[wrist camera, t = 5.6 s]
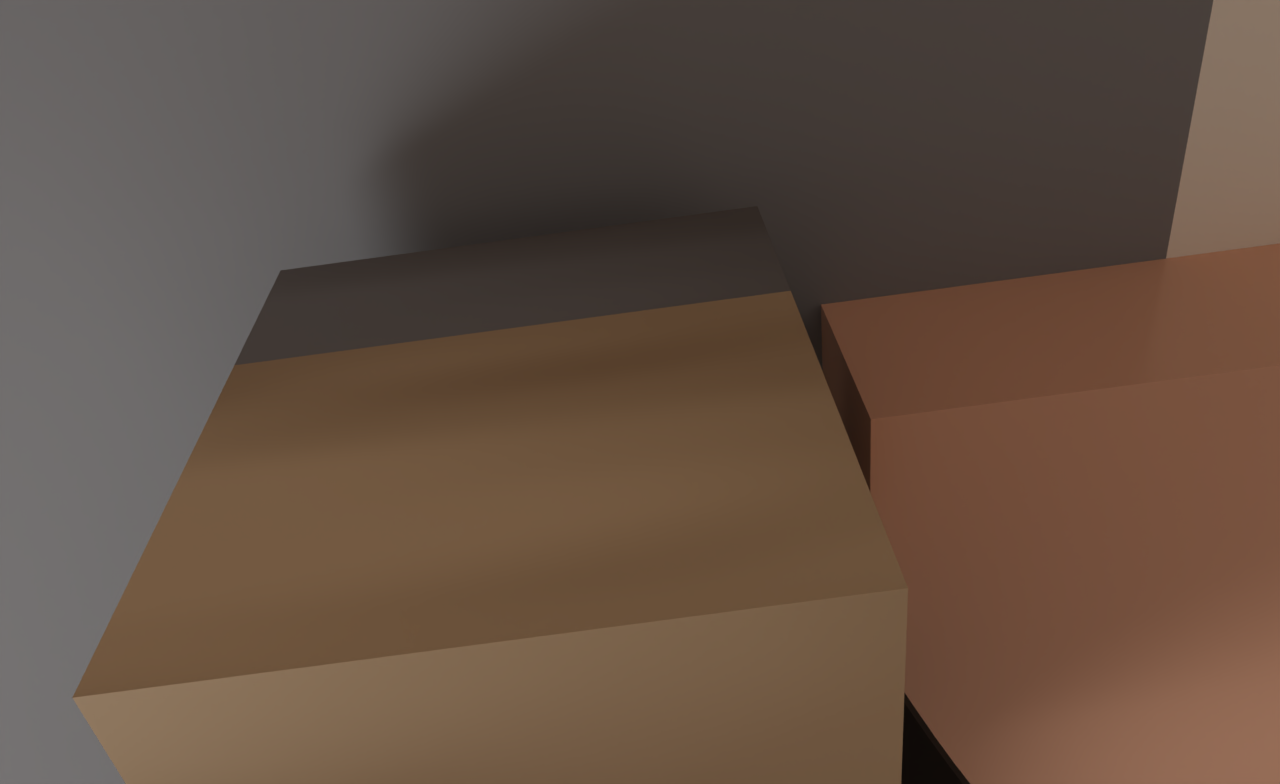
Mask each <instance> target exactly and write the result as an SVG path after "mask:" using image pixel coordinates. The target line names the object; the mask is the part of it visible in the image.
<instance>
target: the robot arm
mask: <svg viewBox="0 0 1280 784" xmlns="http://www.w3.org/2000/svg"><path fill="white" fill-rule="evenodd" d="M901 784H970V783H969V782H968V780H967V779H966V778H965V776H964V775H963V774H962V772H961V771H960V770H959V769H958V767H957V766H956V765H955V763H954V762H953V761H952V759H951V758H950V757H949V755H948V754H947V752H946V751H945V750H944V748H943V747H942V746H941V744H940V743H939V742H938V740H937V739H936V737H935V736H934V735H933V733H932V732H931V730H930V729H929V727H928V726H927V724H926V723H925V722H924V720H923V719H922V717H921V716H920V714H919V713H918V711H917V710H916V709H915V707H914V706H913V704H912V703H911V701H910V700H909V698H908V697H907V695H906V694H905V692H904V718H903V747H902V776H901Z"/></svg>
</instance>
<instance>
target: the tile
mask: <svg viewBox="0 0 1280 784" xmlns="http://www.w3.org/2000/svg"><path fill="white" fill-rule="evenodd" d="M821 327H822V369H823V374H824V376H825V379H826V381H827V384H828V386H829V389H830V392H831V394H832V397H833V399H834V402H835V404H836V407H837V409H838V412H839V414H840V417H841V419H842V422H843V425H844V427H845V430H846V432H847V435H848V437H849V440H850V442H851V445H852V447H853V450H854V452H855V455H856V457H857V460H858V463H859V465H860V468H861V470H862V473H863V475H864V478H865V480H866V483H867V485H868V488H869V490H870V493H871V495H872V498H873V501H874V503H875V506H876V508H877V511H878V513H879V516H880V518H881V521H882V523H883V526H884V528H885V531H886V534H887V536H888V539H889V541H890V544H891V546H892V549H893V551H894V554H895V556H896V559H897V561H898V564H899V566H900V569H901V572H902V574H903V577H904V579H905V582H906V584H907V587H908V604H907V632H906V661H905V690H904V692H905V694H906V695H907V697H908V698H909V700H910V701H911V703H912V704H913V706H914V707H915V709H916V710H917V711H918V713H919V714H920V716H921V717H922V719H923V720H924V722H925V723H926V724H927V726H928V727H929V729H930V730H931V732H932V733H933V735H934V736H935V737H936V739H937V740H938V742H939V743H940V744H941V746H942V747H943V748H944V750H945V751H946V752H947V754H948V755H949V757H950V758H951V759H952V761H953V762H954V763H955V765H956V766H957V767H958V769H959V770H960V771H961V772H962V774H963V775H964V776H965V778H966V779H967V780H968V782H969V783H970V784H1280V243H1279V244H1271V245H1264V246H1256V247H1249V248H1241V249H1234V250H1226V251H1219V252H1211V253H1204V254H1196V255H1189V256H1181V257H1174V258H1166V259H1159V260H1151V261H1144V262H1136V263H1129V264H1121V265H1114V266H1106V267H1099V268H1091V269H1084V270H1076V271H1069V272H1061V273H1054V274H1046V275H1039V276H1031V277H1024V278H1016V279H1009V280H1001V281H994V282H986V283H979V284H971V285H964V286H956V287H949V288H941V289H934V290H926V291H919V292H911V293H904V294H896V295H889V296H881V297H874V298H866V299H859V300H851V301H844V302H836V303H829V304H821Z"/></svg>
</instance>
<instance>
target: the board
mask: <svg viewBox="0 0 1280 784" xmlns="http://www.w3.org/2000/svg"><path fill="white" fill-rule="evenodd" d="M754 206H757V207H758V209H759V212H760V214H761V217H762V219H763V222H764V224H765V227H766V229H767V232H768V234H769V237H770V239H771V242H772V245H773V247H774V250H775V252H776V255H777V257H778V260H779V262H780V265H781V267H782V270H783V272H784V275H785V278H786V280H787V283H788V285H789V288H790V290H791V293H792V295H793V298H794V300H795V303H796V305H797V308H798V310H799V313H800V316H801V318H802V321H803V323H804V326H805V328H806V331H807V333H808V336H809V338H810V341H811V343H812V346H813V348H814V351H815V354H816V356H817V359H818V361H819V364H820V366H821V369H822V327H821V304H829V303H836V302H844V301H851V300H859V299H866V298H874V297H881V296H889V295H896V294H904V293H911V292H919V291H926V290H934V289H941V288H949V287H956V286H964V285H971V284H979V283H986V282H994V281H1001V280H1009V279H1016V278H1024V277H1031V276H1039V275H1046V274H1054V273H1061V272H1069V271H1076V270H1084V269H1091V268H1099V267H1106V266H1114V265H1121V264H1129V263H1136V262H1144V261H1151V260H1159V259H1166V258H1174V257H1181V256H1189V255H1196V254H1204V253H1211V252H1219V251H1226V250H1234V249H1241V248H1249V247H1256V246H1264V245H1271V244H1279V243H1280V0H0V784H126V783H125V782H124V780H123V779H122V777H121V775H120V774H119V772H118V771H117V769H116V767H115V766H114V764H113V762H112V761H111V759H110V758H109V756H108V754H107V753H106V751H105V750H104V748H103V746H102V745H101V743H100V742H99V740H98V738H97V737H96V735H95V733H94V732H93V730H92V729H91V727H90V725H89V724H88V722H87V721H86V719H85V717H84V716H83V714H82V713H81V711H80V709H79V708H78V706H77V705H76V703H75V701H74V700H73V698H72V697H73V695H74V693H75V691H76V689H77V687H78V685H79V683H80V681H81V679H82V677H83V675H84V673H85V671H86V669H87V667H88V665H89V663H90V660H91V658H92V656H93V654H94V652H95V650H96V648H97V646H98V644H99V642H100V640H101V638H102V636H103V634H104V632H105V630H106V628H107V626H108V624H109V621H110V619H111V617H112V615H113V613H114V611H115V609H116V607H117V605H118V603H119V601H120V599H121V597H122V595H123V593H124V591H125V589H126V587H127V585H128V582H129V580H130V578H131V576H132V574H133V572H134V570H135V568H136V566H137V564H138V562H139V560H140V558H141V556H142V554H143V552H144V550H145V548H146V546H147V543H148V541H149V539H150V537H151V535H152V533H153V531H154V529H155V527H156V525H157V523H158V521H159V519H160V517H161V515H162V513H163V511H164V509H165V507H166V504H167V502H168V500H169V498H170V496H171V494H172V492H173V490H174V488H175V486H176V484H177V482H178V480H179V478H180V476H181V474H182V472H183V470H184V468H185V465H186V463H187V461H188V459H189V457H190V455H191V453H192V451H193V449H194V447H195V445H196V443H197V441H198V439H199V437H200V435H201V433H202V431H203V428H204V426H205V424H206V422H207V420H208V418H209V416H210V414H211V412H212V410H213V408H214V406H215V404H216V402H217V400H218V398H219V396H220V394H221V392H222V389H223V387H224V385H225V383H226V381H227V379H228V377H229V375H230V373H231V371H232V369H233V367H234V365H235V363H236V361H237V359H238V357H239V355H240V353H241V350H242V348H243V346H244V344H245V342H246V340H247V338H248V336H249V334H250V332H251V330H252V328H253V326H254V324H255V322H256V320H257V318H258V316H259V314H260V311H261V309H262V307H263V305H264V303H265V301H266V299H267V297H268V295H269V293H270V291H271V289H272V287H273V285H274V283H275V281H276V279H277V277H278V275H279V272H280V270H287V269H295V268H302V267H309V266H317V265H324V264H332V263H339V262H346V261H354V260H361V259H369V258H376V257H384V256H391V255H398V254H406V253H413V252H421V251H428V250H435V249H443V248H450V247H458V246H465V245H472V244H480V243H487V242H495V241H502V240H509V239H517V238H524V237H532V236H539V235H547V234H554V233H561V232H569V231H576V230H584V229H591V228H598V227H606V226H613V225H621V224H628V223H635V222H643V221H650V220H658V219H665V218H673V217H680V216H687V215H695V214H702V213H710V212H717V211H724V210H732V209H739V208H747V207H754ZM822 371H823V369H822Z"/></svg>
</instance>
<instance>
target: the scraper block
mask: <svg viewBox="0 0 1280 784" xmlns="http://www.w3.org/2000/svg"><path fill="white" fill-rule="evenodd" d="M907 604H908V587H907V584H906V582H905V579H904V577H903V574H902V572H901V569H900V566H899V564H898V561H897V559H896V556H895V554H894V551H893V549H892V546H891V544H890V541H889V539H888V536H887V534H886V531H885V528H884V526H883V523H882V521H881V518H880V516H879V513H878V511H877V508H876V506H875V503H874V501H873V498H872V495H871V493H870V490H869V488H868V485H867V483H866V480H865V478H864V475H863V473H862V470H861V468H860V465H859V463H858V460H857V457H856V455H855V452H854V450H853V447H852V445H851V442H850V440H849V437H848V435H847V432H846V430H845V427H844V425H843V422H842V419H841V417H840V414H839V412H838V409H837V407H836V404H835V402H834V399H833V397H832V394H831V392H830V389H829V386H828V384H827V381H826V379H825V376H824V374H823V371H822V369H821V366H820V364H819V361H818V359H817V356H816V354H815V351H814V348H813V346H812V343H811V341H810V338H809V336H808V333H807V331H806V328H805V326H804V323H803V321H802V318H801V316H800V313H799V310H798V308H797V305H796V303H795V300H794V298H793V295H792V293H791V290H790V288H789V285H788V283H787V280H786V278H785V275H784V272H783V270H782V267H781V265H780V262H779V260H778V257H777V255H776V252H775V250H774V247H773V245H772V242H771V239H770V237H769V234H768V232H767V229H766V227H765V224H764V222H763V219H762V217H761V214H760V212H759V209H758V207H757V206H754V207H747V208H739V209H732V210H724V211H717V212H710V213H702V214H695V215H687V216H680V217H673V218H665V219H658V220H650V221H643V222H635V223H628V224H621V225H613V226H606V227H598V228H591V229H584V230H576V231H569V232H561V233H554V234H547V235H539V236H532V237H524V238H517V239H509V240H502V241H495V242H487V243H480V244H472V245H465V246H458V247H450V248H443V249H435V250H428V251H421V252H413V253H406V254H398V255H391V256H384V257H376V258H369V259H361V260H354V261H346V262H339V263H332V264H324V265H317V266H309V267H302V268H295V269H287V270H280V272H279V275H278V277H277V279H276V281H275V283H274V285H273V287H272V289H271V291H270V293H269V295H268V297H267V299H266V301H265V303H264V305H263V307H262V309H261V311H260V314H259V316H258V318H257V320H256V322H255V324H254V326H253V328H252V330H251V332H250V334H249V336H248V338H247V340H246V342H245V344H244V346H243V348H242V350H241V353H240V355H239V357H238V359H237V361H236V363H235V365H234V367H233V369H232V371H231V373H230V375H229V377H228V379H227V381H226V383H225V385H224V387H223V389H222V392H221V394H220V396H219V398H218V400H217V402H216V404H215V406H214V408H213V410H212V412H211V414H210V416H209V418H208V420H207V422H206V424H205V426H204V428H203V431H202V433H201V435H200V437H199V439H198V441H197V443H196V445H195V447H194V449H193V451H192V453H191V455H190V457H189V459H188V461H187V463H186V465H185V468H184V470H183V472H182V474H181V476H180V478H179V480H178V482H177V484H176V486H175V488H174V490H173V492H172V494H171V496H170V498H169V500H168V502H167V504H166V507H165V509H164V511H163V513H162V515H161V517H160V519H159V521H158V523H157V525H156V527H155V529H154V531H153V533H152V535H151V537H150V539H149V541H148V543H147V546H146V548H145V550H144V552H143V554H142V556H141V558H140V560H139V562H138V564H137V566H136V568H135V570H134V572H133V574H132V576H131V578H130V580H129V582H128V585H127V587H126V589H125V591H124V593H123V595H122V597H121V599H120V601H119V603H118V605H117V607H116V609H115V611H114V613H113V615H112V617H111V619H110V621H109V624H108V626H107V628H106V630H105V632H104V634H103V636H102V638H101V640H100V642H99V644H98V646H97V648H96V650H95V652H94V654H93V656H92V658H91V660H90V663H89V665H88V667H87V669H86V671H85V673H84V675H83V677H82V679H81V681H80V683H79V685H78V687H77V689H76V691H75V693H74V695H73V697H72V698H73V700H74V701H75V703H76V705H77V706H78V708H79V709H80V711H81V713H82V714H83V716H84V717H85V719H86V721H87V722H88V724H89V725H90V727H91V729H92V730H93V732H94V733H95V735H96V737H97V738H98V740H99V742H100V743H101V745H102V746H103V748H104V750H105V751H106V753H107V754H108V756H109V758H110V759H111V761H112V762H113V764H114V766H115V767H116V769H117V771H118V772H119V774H120V775H121V777H122V779H123V780H124V782H125V783H126V784H901V776H902V747H903V718H904V690H905V661H906V632H907Z"/></svg>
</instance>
